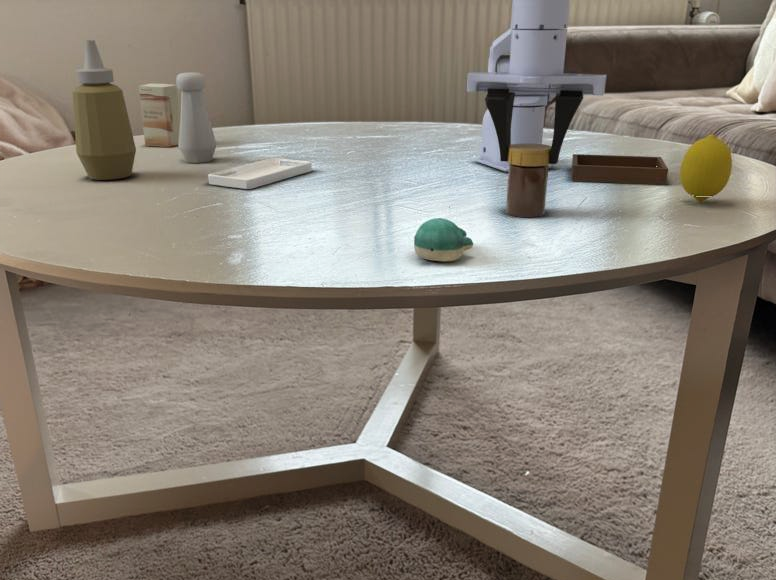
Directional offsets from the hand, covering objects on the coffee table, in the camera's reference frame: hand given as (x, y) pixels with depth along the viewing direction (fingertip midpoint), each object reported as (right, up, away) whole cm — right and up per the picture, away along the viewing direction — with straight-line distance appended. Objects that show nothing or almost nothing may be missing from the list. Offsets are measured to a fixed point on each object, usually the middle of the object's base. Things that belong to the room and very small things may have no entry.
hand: (528, 161), depth 85 cm
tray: (+17, +3, +21) cm, 27 cm away
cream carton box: (-54, +15, +49) cm, 74 cm away
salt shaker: (-45, +9, +35) cm, 57 cm away
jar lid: (0, +1, 0) cm, 1 cm away
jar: (0, -5, +2) cm, 6 cm away
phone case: (-33, +3, +22) cm, 40 cm away
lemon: (+22, -4, +6) cm, 23 cm away
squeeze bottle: (-55, +4, +23) cm, 60 cm away
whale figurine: (-11, -12, -12) cm, 20 cm away
